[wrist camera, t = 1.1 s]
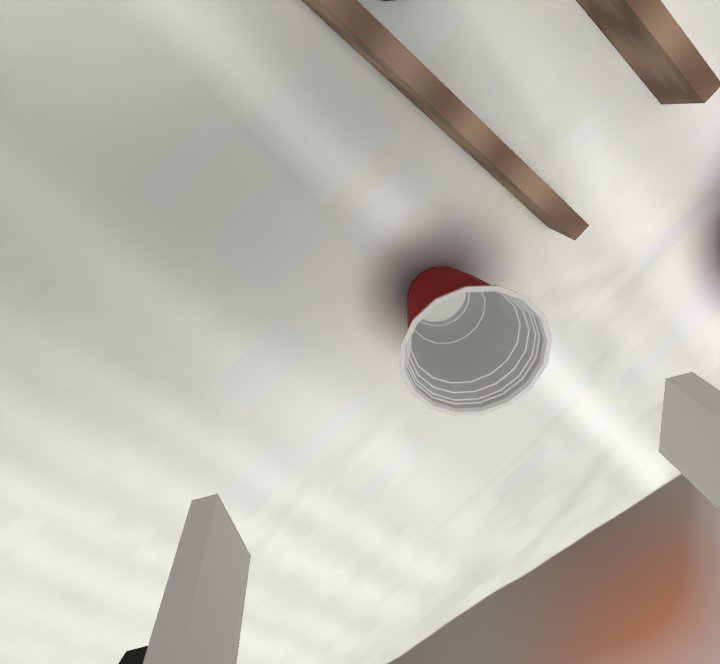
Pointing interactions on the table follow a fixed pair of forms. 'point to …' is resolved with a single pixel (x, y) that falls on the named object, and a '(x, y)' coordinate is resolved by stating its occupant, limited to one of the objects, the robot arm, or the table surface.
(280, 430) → the table surface
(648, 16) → the walnut rest
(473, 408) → the plastic cup
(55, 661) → the table surface
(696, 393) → the robot arm
